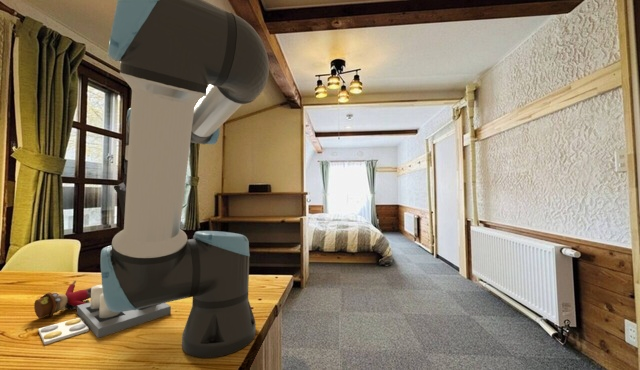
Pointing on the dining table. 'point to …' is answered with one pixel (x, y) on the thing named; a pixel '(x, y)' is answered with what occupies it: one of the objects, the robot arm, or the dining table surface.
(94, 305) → the button far left
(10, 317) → the dining table surface
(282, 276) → the dining table surface
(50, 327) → the card
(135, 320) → the board
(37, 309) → the toy
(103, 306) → the button near left
